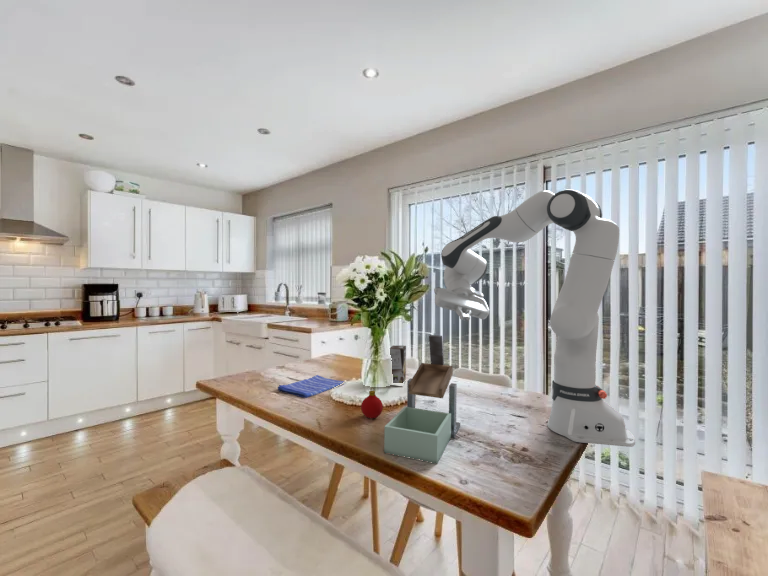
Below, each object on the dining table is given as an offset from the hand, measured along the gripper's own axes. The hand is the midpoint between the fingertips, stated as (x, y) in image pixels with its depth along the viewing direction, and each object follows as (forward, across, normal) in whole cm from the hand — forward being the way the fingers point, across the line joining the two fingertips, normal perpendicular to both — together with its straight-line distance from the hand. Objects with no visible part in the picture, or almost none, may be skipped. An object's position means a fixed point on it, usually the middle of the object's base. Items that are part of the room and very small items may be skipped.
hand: (465, 319), depth 122 cm
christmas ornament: (+25, -22, +31) cm, 46 cm away
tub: (+40, -13, +15) cm, 45 cm away
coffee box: (-7, -6, +50) cm, 51 cm away
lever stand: (+31, -7, +20) cm, 37 cm away
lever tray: (+22, -10, +10) cm, 26 cm away
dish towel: (-1, -41, +59) cm, 72 cm away
